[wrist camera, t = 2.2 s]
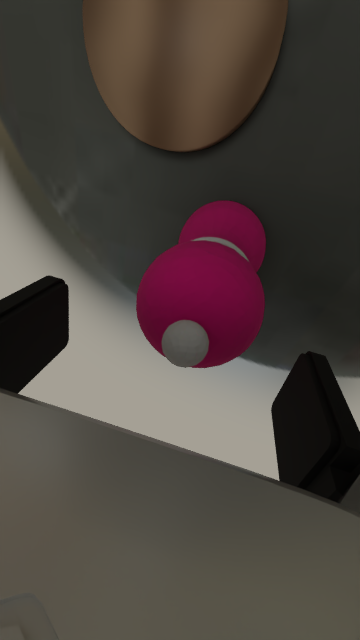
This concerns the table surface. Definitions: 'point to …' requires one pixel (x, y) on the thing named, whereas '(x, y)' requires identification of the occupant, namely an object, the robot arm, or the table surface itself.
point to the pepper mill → (206, 288)
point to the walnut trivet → (183, 64)
